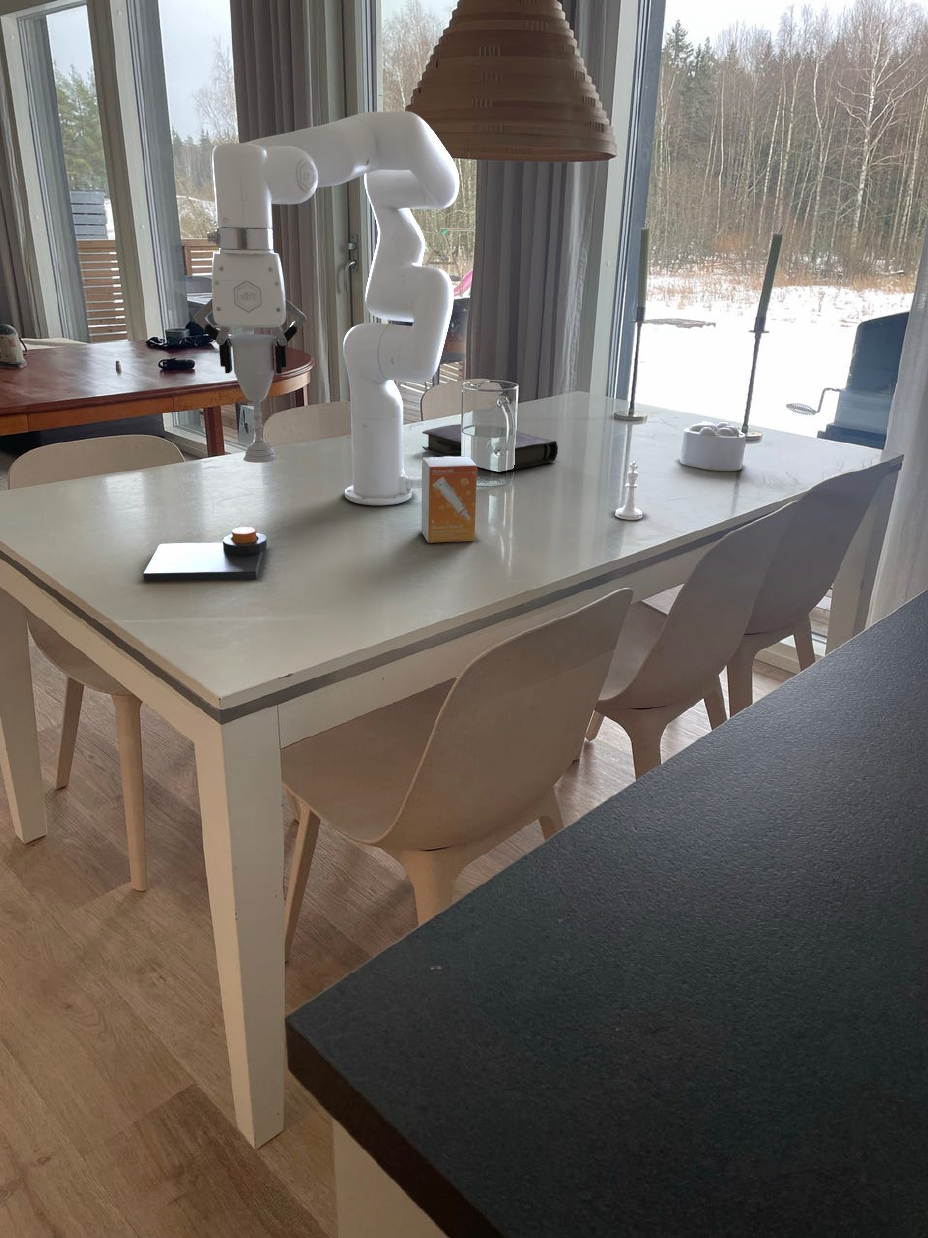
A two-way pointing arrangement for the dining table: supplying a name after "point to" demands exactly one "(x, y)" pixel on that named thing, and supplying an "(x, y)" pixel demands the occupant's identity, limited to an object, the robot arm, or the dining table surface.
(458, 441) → the diary
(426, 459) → the small box
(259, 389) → the chalice
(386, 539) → the dining table surface
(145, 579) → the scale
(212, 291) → the robot arm
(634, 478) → the chess piece
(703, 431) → the lumpy-topped squat cylinder
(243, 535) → the power button
